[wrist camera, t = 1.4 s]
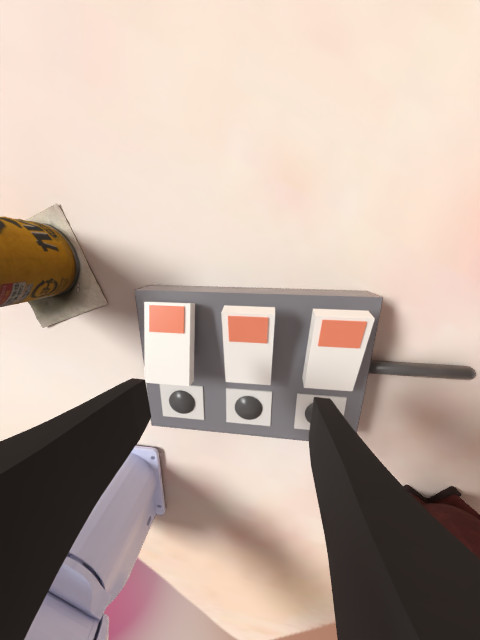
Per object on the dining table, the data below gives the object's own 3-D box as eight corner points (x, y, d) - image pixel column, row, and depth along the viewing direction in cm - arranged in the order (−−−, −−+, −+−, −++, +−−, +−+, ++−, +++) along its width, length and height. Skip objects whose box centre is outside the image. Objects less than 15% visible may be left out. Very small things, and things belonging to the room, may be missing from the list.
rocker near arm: (193, 381, 16) (188, 386, 15) (151, 377, 17) (143, 383, 16) (195, 303, 16) (189, 303, 15) (151, 301, 16) (143, 301, 15)
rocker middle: (270, 375, 17) (270, 386, 16) (227, 372, 17) (225, 382, 16) (275, 307, 14) (275, 315, 13) (224, 305, 14) (221, 313, 14)
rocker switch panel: (447, 432, 20) (474, 459, 17) (164, 407, 22) (150, 426, 20) (493, 294, 16) (536, 302, 14) (151, 285, 19) (133, 290, 16)
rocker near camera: (348, 380, 16) (353, 392, 15) (302, 377, 17) (304, 388, 16) (368, 310, 14) (375, 319, 13) (312, 308, 14) (316, 317, 13)
